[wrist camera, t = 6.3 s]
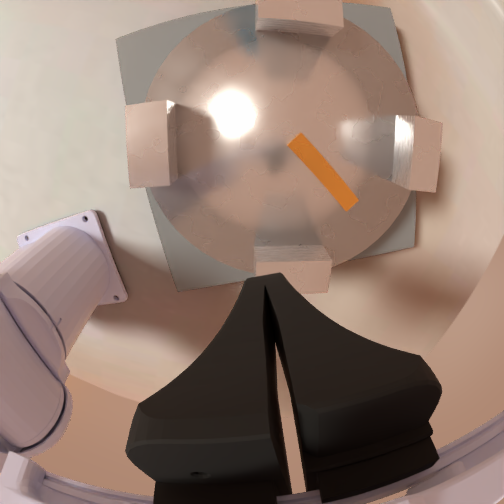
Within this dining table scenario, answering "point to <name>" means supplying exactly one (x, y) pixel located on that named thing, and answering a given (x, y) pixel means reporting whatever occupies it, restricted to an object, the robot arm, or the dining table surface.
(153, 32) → the base plate
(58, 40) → the dining table surface
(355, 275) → the dining table surface
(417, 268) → the dining table surface
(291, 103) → the lugged metal disc
